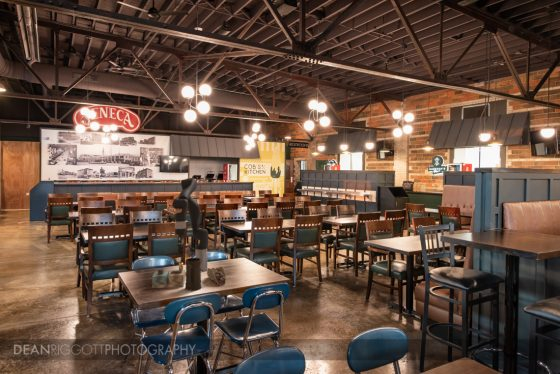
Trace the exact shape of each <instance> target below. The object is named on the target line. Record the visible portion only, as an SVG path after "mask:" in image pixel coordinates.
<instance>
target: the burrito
mask: <svg viewBox="0 0 560 374" xmlns="http://www.w3.org/2000/svg"><path fill="white" fill-rule="evenodd" d="M206 273H207V274H206V275H207V277H208V278H209V279H211V280H212V281H213V282H215V283H216V284H217V285H219V286H220V287H222V286H224V285H226V282H227V273H226V271H225V268H224V267H223V266H219V267H217V268H214V267H212V268H209V267H207V271H206Z"/></svg>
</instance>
